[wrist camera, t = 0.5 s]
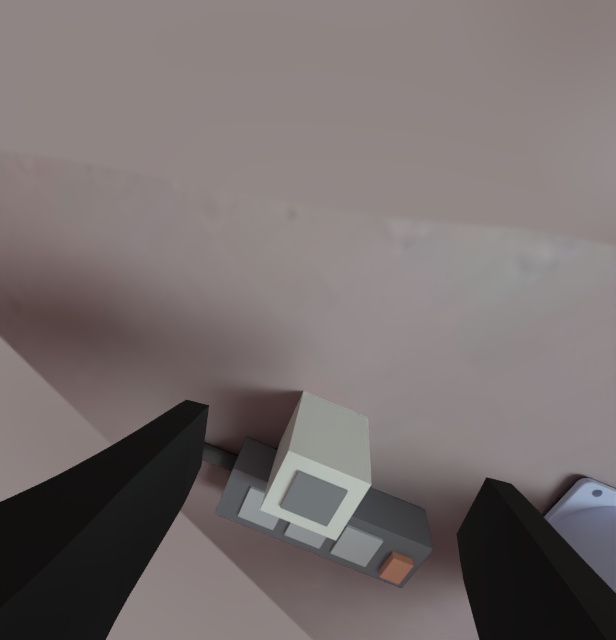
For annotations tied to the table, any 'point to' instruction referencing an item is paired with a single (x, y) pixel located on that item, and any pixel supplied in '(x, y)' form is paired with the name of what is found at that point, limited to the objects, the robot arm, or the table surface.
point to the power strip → (349, 549)
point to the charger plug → (320, 467)
